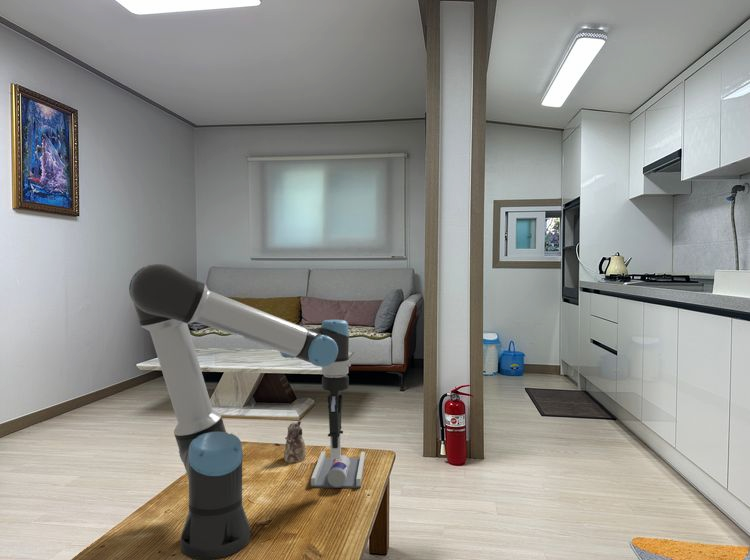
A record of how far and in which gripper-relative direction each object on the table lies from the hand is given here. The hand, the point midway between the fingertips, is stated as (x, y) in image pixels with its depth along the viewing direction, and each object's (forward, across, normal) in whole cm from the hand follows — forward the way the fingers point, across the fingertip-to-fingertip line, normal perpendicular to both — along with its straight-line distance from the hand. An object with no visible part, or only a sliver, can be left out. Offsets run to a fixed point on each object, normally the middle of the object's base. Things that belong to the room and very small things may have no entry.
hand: (335, 457), depth 144 cm
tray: (+9, +12, 0) cm, 15 cm away
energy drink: (+6, 0, 0) cm, 6 cm away
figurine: (+9, +23, +16) cm, 30 cm away
